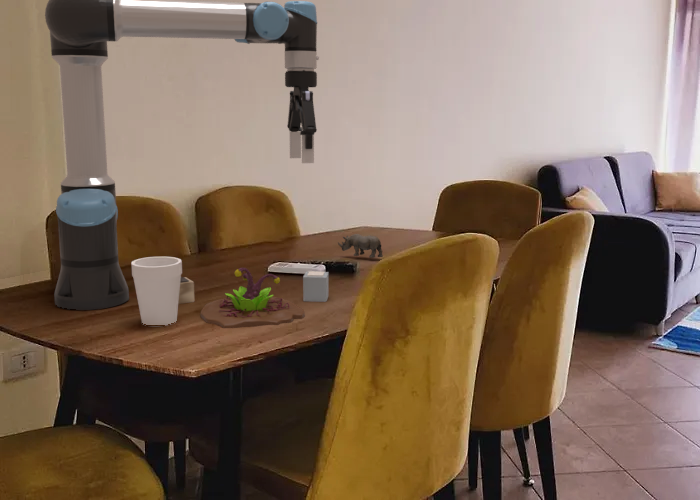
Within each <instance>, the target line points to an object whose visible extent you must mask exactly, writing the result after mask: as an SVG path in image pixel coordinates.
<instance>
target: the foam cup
mask: <svg viewBox="0 0 700 500" xmlns="http://www.w3.org/2000/svg"><path fill="white" fill-rule="evenodd" d="M182 261H183V260H182V259H181V258H178V257H174V256H148V257H142V258H138V259H134V260H132V261H131V277H133V282H134V283H133V284H134V288H135V293H136V298H137V303H138V308H139V309H138V310H139V314H140V320H141V324H142V323H143V324H142V325H144V324H146V325H165V326H169V325H168V324H170V325H172V324H171V323H174V322H175V323H177V322H176V321H177V319H178V309H179V304H178V301H179V291H180V280H181V277H182V274H183V262H182ZM175 323H174V324H175ZM146 325H145V326H146Z"/></svg>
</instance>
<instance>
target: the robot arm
mask: <svg viewBox="0 0 700 500" xmlns="http://www.w3.org/2000/svg"><path fill="white" fill-rule="evenodd" d="M44 19H45V23H46V25H47V28H48V30H49V36H50V37H49V38H50V39H49V40H50V52H51V58H52V59H53V60H54V61H55V62H56V63H57V64H58V66H59V72H60V73H59V74H60V88H61V89H60V90H61V101H62V102H61V103H62V116H63V117H62V119H63V130H64V143H65V144H64V145H65V146H64V147H65V159H66V160H65V161H66V174H67V175H66V176H65V177H64V179H63V180H62V181H61V182H60V192H61V194H60V195H59V196H58V197H57V200H56V206H55V213H56V215H57V224H58V225H57V226H58V240H59V253H60V254H59V255H60V256H59V257H60V272H59V274H58V278H57V279H58V280H57V283H56V285H55V290H54V294H53V295H54V305H55V306H56V305H57V306H56V307H58V308H60V307H62V308H61V309H64V308H67V309H66V310H70V309H76V310H75V311H92V310H93V311H94V310H101V309H106V308H112V307H116V306H119V305H122V304H125V303H126V302H127V301H129V299H130V294H129V293H130V292H129V287H128V284H127V281H126V279H125V276H124V275H123V271H122V269H121V267H120V266H121V265H120V264H119V263H120V262H119V249H118V248H119V247H118V246H119V245H118V231H117V229H118V227H117V226H118V225H117V220H118V218H119V216H118V215H119V213H118V212H119V210H118V206H117V196H116V194H117V193H116V181H115V179H113V178H112V177H111V176H110V175H109V174H108V161H107V159H108V158H107V146H106V145H107V143H106V127H105V111H104V109H105V107H104V95H103V93H104V92H103V91H104V90H103V76H102V73H103V72H102V71H103V70H102V65H103V64H104V63H106V61H107V60H108V59H109V53H108V42H119V40H120V39H121V38H122V37H126V38H130V37H132V38H167V39H168V38H170V39H172V38H174V39H175V38H177V39H179V38H180V39H217V40H223V39H224V40H234V41H235V42H236V43H243V44H248V45H250V44H279V45H281V44H283V45H284V69H286V71H285V73H284V86H285V87H286V88H293V90H290V91H289V105H288V106H289V107H288V117H287V129H288V131H289V159H301V163H302V164H314V163H315V133H316V132H317V130H318V129H317V123H316V114H315V106H314V92H313V91H312V90H309V88H316V87H317V86H318V73H317V72H316V71H315V69H317V66H318V65H317V62H318V61H319V60H320V59H319V58H320V56H318V55H317V51H318V50H317V38H318V37H317V34H318V33H317V32H318V31H317V30H318V29H317V27H318V19H317V6H316V4H315V3H313V2H311V1H307V0H305V1H304V0H292V1H291V0H290V1H286V2H285V3H284V6H282V5H281V4H280V3H278V2H275V1H264V2H239V1H237V2H235V1H233V2H232V1H216V0H214V1H212V0H48V1H47V3H46V7H45V10H44Z"/></svg>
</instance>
